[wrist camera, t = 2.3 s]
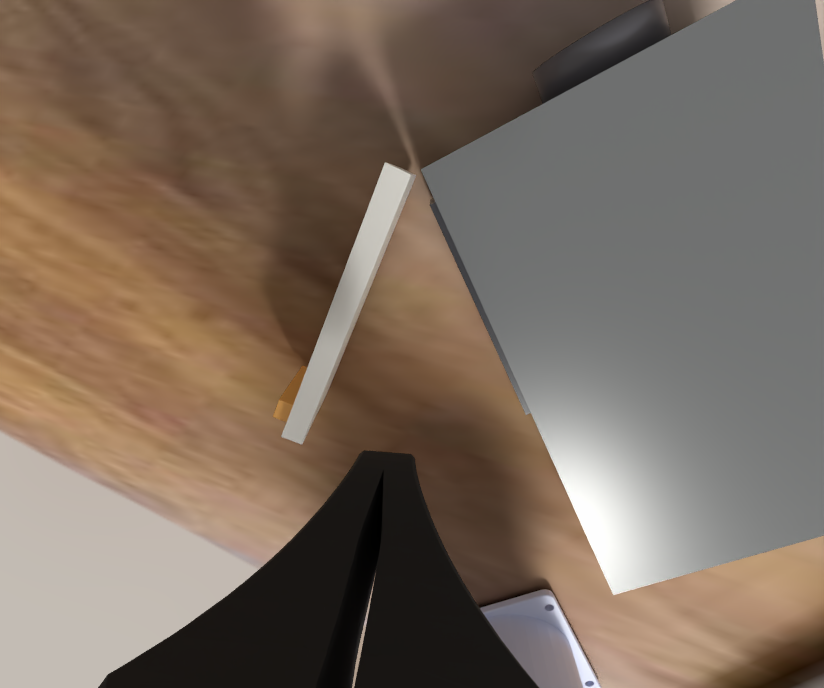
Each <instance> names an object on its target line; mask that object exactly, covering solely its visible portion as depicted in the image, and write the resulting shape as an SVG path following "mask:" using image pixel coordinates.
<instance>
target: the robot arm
mask: <svg viewBox="0 0 824 688" xmlns="http://www.w3.org/2000/svg"><path fill="white" fill-rule="evenodd" d="M376 568H377V569H376ZM375 573H376V575H375ZM374 577H375V581H374ZM373 581H374V586H373ZM372 586H373V592H372V598H371V603H370V609H369V614H368V620H367V625H366V631H365V636H364V641H363V646H362V652H361V657H360V662H359V667H358V672H357V677H356V682H355V687H354V688H602V687H601V685H600V683H599V681H598V679H597V677H596V675H595V673H594V671H593V669H592V667H591V665H590V663H589V661H588V660H587V658H586V656H585V654H584V652H583V650H582V648H581V646H580V644H579V642H578V640H577V638H576V636H575V634H574V633H573V631H572V629H571V627H570V625H569V623H568V621H567V619H566V617H565V615H564V613H563V611H562V609H561V607H560V606H559V604H558V602H557V600H556V598H555V596H554V594H553V593H552V591H550V590H547V589H543V590H539V591H535V592H532V593H529V594H525V595H522V596H518V597H515V598H512V599H508V600H505V601H502V602H498V603H495V604H491V605H488V606H485V607H481V608H479V607H478V605H477V604H476V602H475V601H474V599H473V597H472V596H471V594H470V592H469V591H468V589H467V588H466V586H465V584H464V583H463V581H462V579H461V577H460V576H459V574H458V572H457V570H456V569H455V567H454V565H453V563H452V561H451V559H450V557H449V555H448V554H447V552H446V549H445V547H444V545H443V543H442V541H441V539H440V537H439V535H438V532H437V530H436V528H435V526H434V523H433V521H432V518H431V516H430V513H429V510H428V508H427V505H426V502H425V500H424V497H423V494H422V491H421V487H420V484H419V480H418V476H417V471H416V465H415V458H414V457H413V456H412V455H411V454H402V453H390V452H377V451H365V450H364V451H363V452H362V453H360V454H359V456H358V458H357V460H356V461H355V463H354V464H353V466H352V468H351V469H350V470H349V472H348V473H347V475H346V476H345V478H344V479H343V480H342V482H341V483H340V484H339V486H338V487H337V488H336V489H335V491H334V492H333V493H332V495H331V496H330V497H329V498H328V500H327V501H326V502H325V503H324V505H323V506H322V507H321V508H320V509H319V510H318V511H317V513H316V514H315V515H314V516H313V517H312V518H311V519H310V520H309V521H308V523H307V524H306V525H305V526H304V527H303V528H302V529H301V530H300V531H299V532H298V533H297V534H296V535H295V536H294V537H293V538H292V540H291V541H289V542H288V543H287V544H286V545H285V546H284V547H283V548H282V549H281V550H280V551H279V552H278V553H277V554H276V555H275V556H274V557H273V558H272V559H271V560H269V561H268V562H267V563H266V564H265V565H264V566H263V567H261V568H260V569H259V570H258V571H257V572H256V573H254V574H253V575H252V576H251V577H250V578H249V579H247V580H246V581H245V582H244V583H243V584H241V585H240V586H239V587H238V588H236V589H235V590H234V591H233V592H231V593H230V594H229V595H228V596H226V597H225V598H223V599H222V600H221V601H219V602H218V603H216V604H215V605H214V606H212V607H211V608H210V609H208V610H207V611H205V612H204V613H203V614H201V615H200V616H199V617H197V618H196V619H195V620H193V621H192V622H191V623H189V624H188V625H186V626H185V627H183V628H182V629H180V630H179V631H177V632H176V633H174V634H173V635H171V636H170V637H169V638H167V639H165V640H163V641H162V642H160V643H159V644H157V645H155V646H154V647H152V648H151V649H149V650H147V651H146V652H144V653H143V654H141V655H139V656H138V657H136V658H135V659H133V660H131V661H130V662H128V663H127V664H125V665H123V666H122V667H120V668H118V669H117V670H115V671H113V672H111V673H110V674H108V675H107V676H106V678H105V679H104V681H103V682H102V683H101V685H100V686H99V687H98V688H352V684H353V677H354V670H355V664H356V659H357V653H358V648H359V643H360V638H361V634H362V630H363V625H364V621H365V617H366V612H367V608H368V603H369V599H370V595H371V590H372Z"/></svg>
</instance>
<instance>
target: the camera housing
mask: <svg viewBox="0 0 824 688" xmlns="http://www.w3.org/2000/svg"><path fill="white" fill-rule="evenodd" d="M532 74H533V77H534V80H535V83H536V86H537V88H538V91H539V94H540V97H541V100H542V103H543V104H542V105H540V106H538V107H536V108H534V109H533V110H531V111H529V112H527V113H525V114H523V115H521V116H519V117H518V118H516V119H514V120H512V121H510V122H508V123H506V124H505V125H503V126H501V127H499V128H497V129H495V130H493V131H491V132H490V133H488V134H486V135H484V136H482V137H480V138H478V139H477V140H475V141H473V142H471V143H469V144H467V145H465V146H463V147H462V148H460V149H458V150H456V151H454V152H452V153H450V154H449V155H447V156H445V157H443V158H441V159H439V160H437V161H435V162H434V163H432V164H430V165H428V166H426V167H424V168H422V169H421V171H422V173H423V176H424V178H425V180H426V182H427V184H428V187H429V189H430V191H431V193H432V195H433V199H431V200H430V206H431V209H432V211H433V213H434V215H435V217H436V220H437V222H438V224H439V226H440V228H441V230H442V233H443V235H444V237H445V239H446V241H447V244H448V246H449V248H450V250H451V252H452V254H453V257H454V259H455V261H456V263H457V265H458V268H459V270H460V272H461V274H462V276H463V278H464V281H465V283H466V285H467V287H468V289H469V292H470V294H471V296H472V298H473V300H474V302H475V305H476V307H477V309H478V311H479V313H480V316H481V318H482V320H483V322H484V324H485V327H486V329H487V331H488V333H489V335H490V337H491V340H492V342H493V344H494V346H495V348H496V351H497V353H498V355H499V357H500V359H501V361H502V364H503V366H504V368H505V370H506V372H507V375H508V377H509V379H510V381H511V383H512V385H513V388H514V390H515V392H516V394H517V396H518V399H519V401H520V403H521V405H522V407H523V409H524V412H525V414H526V415H527V414H530V413H531V414H532V416H533V419H534V421H535V423H536V425H537V427H538V430H539V432H540V434H541V436H542V438H543V441H544V443H545V445H546V447H547V449H548V452H549V454H550V456H551V458H552V461H553V463H554V465H555V467H556V469H557V472H558V474H559V476H560V478H561V480H562V483H563V485H564V487H565V489H566V491H567V494H568V496H569V498H570V500H571V502H572V505H573V507H574V509H575V511H576V514H577V516H578V518H579V520H580V522H581V525H582V527H583V529H584V531H585V533H586V536H587V538H588V540H589V542H590V544H591V547H592V549H593V551H594V553H595V556H596V558H597V560H598V562H599V564H600V567H601V569H602V571H603V573H604V575H605V578H606V580H607V582H608V584H609V586H610V589H611V591H612V593H613V595H615V594H618V593H622V592H626V591H629V590H633V589H636V588H640V587H643V586H647V585H650V584H654V583H657V582H661V581H665V580H668V579H672V578H675V577H679V576H682V575H686V574H689V573H693V572H696V571H700V570H703V569H707V568H711V567H714V566H718V565H721V564H725V563H728V562H732V561H735V560H739V559H742V558H746V557H749V556H753V555H757V554H760V553H764V552H767V551H771V550H774V549H778V548H781V547H785V546H788V545H792V544H795V543H799V542H803V541H806V540H810V539H813V538H817V537H820V536H824V61H823V54H822V47H821V40H820V32H819V25H818V18H817V11H816V4H815V0H736V1H734V2H732V3H730V4H728V5H727V6H725V7H723V8H721V9H719V10H717V11H715V12H714V13H712V14H710V15H708V16H706V17H704V18H702V19H700V20H699V21H697V22H695V23H693V24H691V25H689V26H687V27H686V28H684V29H682V30H680V31H678V32H676V33H674V34H672V35H671V32H670V28H669V23H668V19H667V15H666V11H665V7H664V3H663V0H649V1H647V2H645V3H643V4H641V5H639V6H637V7H635V8H633V9H631V10H629V11H627V12H626V13H624V14H622V15H620V16H618V17H616V18H615V19H613V20H611V21H609V22H608V23H606V24H604V25H602V26H601V27H599V28H597V29H596V30H594V31H592V32H591V33H589V34H587V35H586V36H584V37H582V38H581V39H579V40H578V41H576V42H574V43H573V44H571V45H570V46H568V47H566V48H565V49H563V50H562V51H560V52H559V53H557V54H556V55H554V56H553V57H551V58H550V59H549V60H547V61H546V62H544V63H543V64H542V65H540V66H539V67H538V68H537V69H535V70H534V71H533V73H532Z"/></svg>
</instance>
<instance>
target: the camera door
mask: <svg viewBox="0 0 824 688" xmlns="http://www.w3.org/2000/svg"><path fill="white" fill-rule="evenodd" d="M415 177H416V175H415V174H413V173H411V172H409V171H407V170H405V169H403V168H400V167H398V166H396V165H393V164H389V163H386V162H385V164H384V167H383V169H382V172H381V174H380V177H379V180H378V182H377V185H376V188H375V190H374V193H373V196H372V198H371V201H370V204H369V206H368V209H367V211H366V214H365V217H364V219H363V222H362V225H361V227H360V230H359V233H358V235H357V238H356V241H355V243H354V246H353V248H352V251H351V254H350V256H349V259H348V262H347V264H346V267H345V270H344V272H343V275H342V277H341V280H340V283H339V285H338V288H337V291H336V293H335V296H334V299H333V301H332V304H331V307H330V309H329V312H328V314H327V317H326V320H325V322H324V325H323V328H322V330H321V333H320V336H319V338H318V341H317V344H316V346H315V349H314V351H313V354H312V357H311V359H310V362H309V365H308V367H305V366H302V367H301V368H300V370H299V371H298V373H297V374H296V376H295V377H294V379H293V380H292V381H291V383H290V384H289V386H288V387H287V389H286V390H285V392H284V393H283V395H282V396H281V397H280V399H279V401H278V404H277V406H276V409H275V412H274V415H273V417H274V418H277V419H279V420H282V421H284V422H287V423H286V425H285V428H284V431H283V433H282V436H281V437H283V438H286V439H288V440H291V441H294V442H296V443H299V444H301V445H302V444H303V442H304V440H305V438H306V436H307V433H308V431H309V429H310V427H311V425H312V423H313V421H314V419H315V417H316V415H317V413H318V411H319V409H320V407H321V405H322V403H323V401H324V399H325V397H326V395H327V393H328V390H329V388H330V385H331V383H332V380H333V378H334V375H335V373H336V371H337V368H338V366H339V363H340V361H341V358H342V356H343V353H344V351H345V349H346V346H347V344H348V341H349V339H350V336H351V334H352V331H353V329H354V327H355V324H356V322H357V319H358V317H359V314H360V312H361V309H362V307H363V305H364V302H365V300H366V297H367V295H368V292H369V290H370V287H371V285H372V283H373V280H374V278H375V275H376V273H377V270H378V268H379V265H380V263H381V261H382V258H383V256H384V253H385V251H386V248H387V246H388V243H389V241H390V239H391V236H392V234H393V231H394V229H395V226H396V224H397V221H398V219H399V217H400V214H401V212H402V209H403V207H404V204H405V202H406V199H407V197H408V195H409V192H410V190H411V187H412V185H413V182H414V180H415Z"/></svg>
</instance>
